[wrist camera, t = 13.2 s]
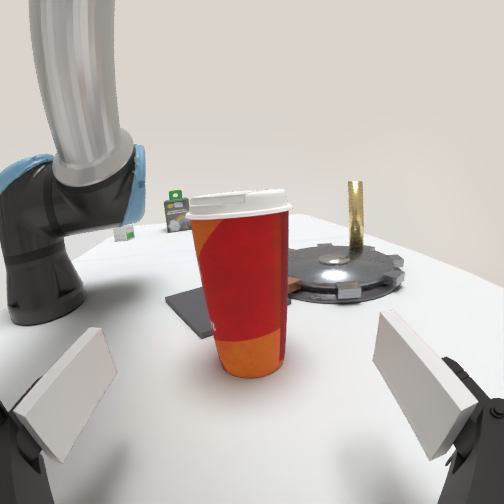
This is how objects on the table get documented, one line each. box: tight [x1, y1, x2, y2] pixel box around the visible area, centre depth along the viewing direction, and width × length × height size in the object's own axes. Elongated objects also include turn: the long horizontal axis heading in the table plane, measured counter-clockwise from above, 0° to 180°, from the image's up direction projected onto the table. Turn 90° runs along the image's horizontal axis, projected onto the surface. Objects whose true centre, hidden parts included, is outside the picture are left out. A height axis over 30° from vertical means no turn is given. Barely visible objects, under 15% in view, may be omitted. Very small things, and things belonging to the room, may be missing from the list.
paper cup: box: [185, 189, 293, 378], centre depth 21 cm, size 8×8×14 cm
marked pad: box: [165, 287, 291, 338], centre depth 34 cm, size 12×12×1 cm
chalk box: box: [164, 190, 192, 233], centre depth 98 cm, size 9×9×15 cm
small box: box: [113, 225, 135, 242], centre depth 90 cm, size 6×6×5 cm
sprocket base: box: [287, 267, 401, 304], centre depth 42 cm, size 22×22×1 cm
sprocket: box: [288, 181, 405, 299], centre depth 40 cm, size 23×23×13 cm
